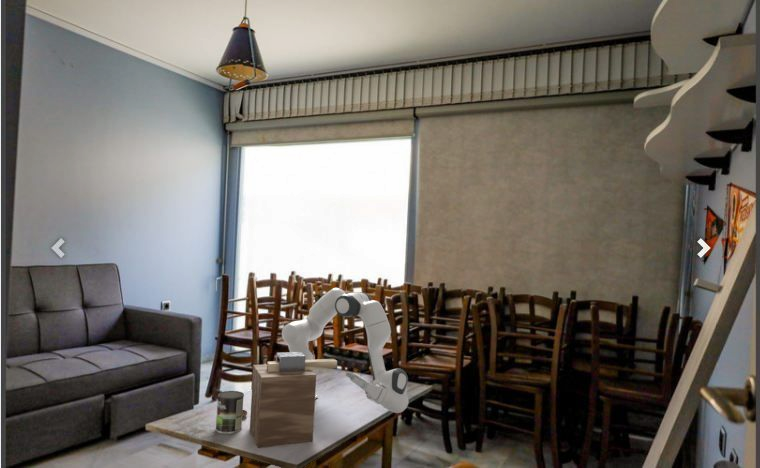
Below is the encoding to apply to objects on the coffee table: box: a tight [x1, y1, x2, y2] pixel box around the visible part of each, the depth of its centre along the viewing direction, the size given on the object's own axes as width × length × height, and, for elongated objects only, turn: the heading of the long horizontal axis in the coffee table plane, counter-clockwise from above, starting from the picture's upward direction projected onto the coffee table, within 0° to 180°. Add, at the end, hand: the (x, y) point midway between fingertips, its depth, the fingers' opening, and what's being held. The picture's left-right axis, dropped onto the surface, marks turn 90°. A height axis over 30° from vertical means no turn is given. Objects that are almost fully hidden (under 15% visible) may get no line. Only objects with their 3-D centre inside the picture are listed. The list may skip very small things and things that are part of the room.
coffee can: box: [215, 390, 245, 435], centre depth 201 cm, size 10×10×14 cm
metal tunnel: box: [275, 351, 306, 372], centre depth 199 cm, size 8×10×6 cm
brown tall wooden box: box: [249, 363, 317, 449], centre depth 198 cm, size 20×21×26 cm
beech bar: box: [266, 358, 338, 372], centre depth 201 cm, size 4×28×3 cm, turn 113°
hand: (350, 376), depth 209 cm, fingers open, 8 cm apart
